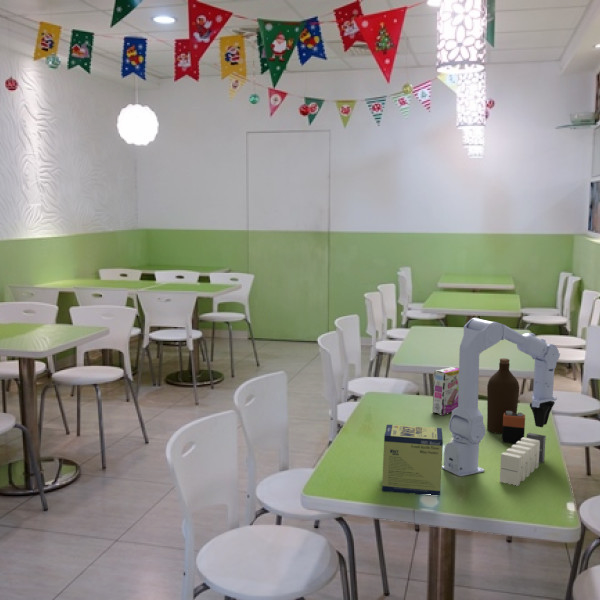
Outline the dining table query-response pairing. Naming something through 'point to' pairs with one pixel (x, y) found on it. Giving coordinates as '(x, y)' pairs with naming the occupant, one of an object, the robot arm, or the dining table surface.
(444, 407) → the candy bar box
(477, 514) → the dining table surface
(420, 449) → the protein box
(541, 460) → the domino
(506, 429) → the battery
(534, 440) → the domino
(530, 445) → the domino
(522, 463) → the domino
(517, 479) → the domino
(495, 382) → the olive oil
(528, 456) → the domino
